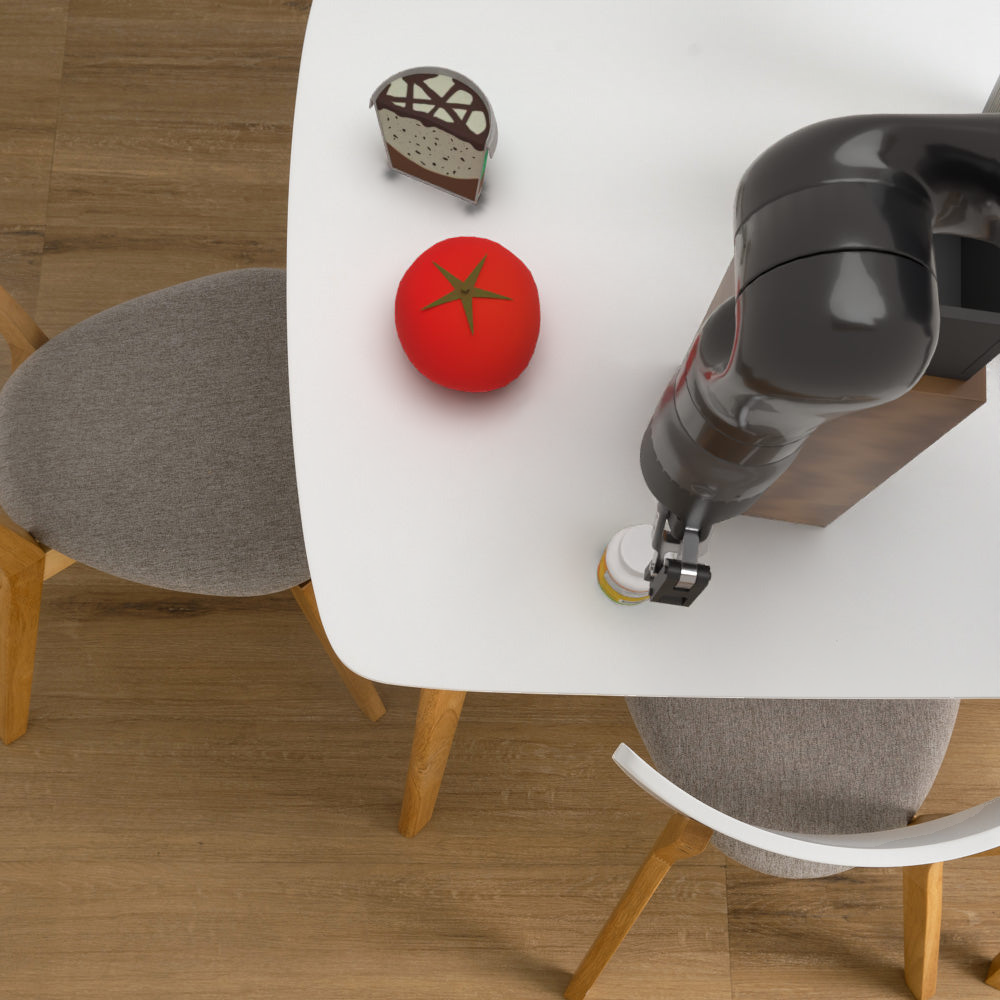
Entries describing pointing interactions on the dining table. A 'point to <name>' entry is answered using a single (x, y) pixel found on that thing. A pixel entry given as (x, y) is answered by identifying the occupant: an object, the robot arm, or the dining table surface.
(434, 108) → the food container
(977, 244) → the dark grey open box
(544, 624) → the dining table surface
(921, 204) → the robot arm
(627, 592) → the supplement bottle
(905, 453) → the stand
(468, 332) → the tomato
